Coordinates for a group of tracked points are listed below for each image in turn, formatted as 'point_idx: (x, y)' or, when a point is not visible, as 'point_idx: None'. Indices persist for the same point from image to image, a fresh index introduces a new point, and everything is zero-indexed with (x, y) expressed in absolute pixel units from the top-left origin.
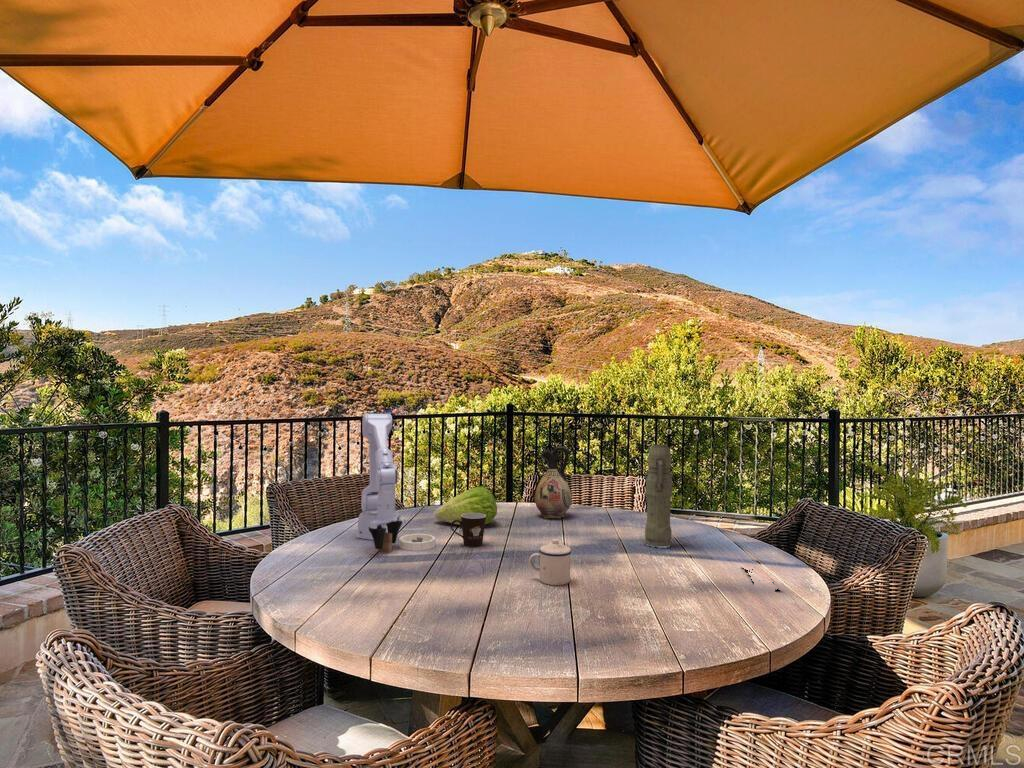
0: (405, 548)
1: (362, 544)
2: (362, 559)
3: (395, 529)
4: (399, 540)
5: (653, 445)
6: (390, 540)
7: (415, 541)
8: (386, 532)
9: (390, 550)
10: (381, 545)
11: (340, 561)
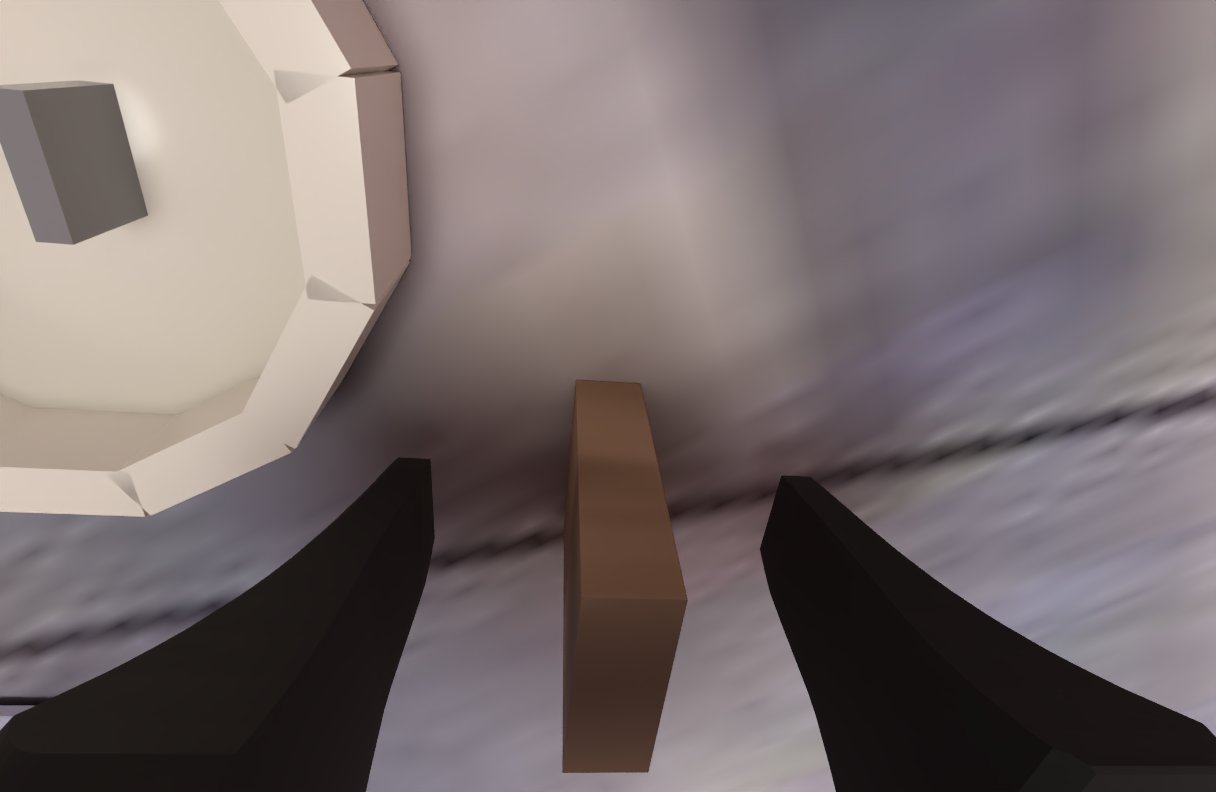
0: (401, 228)
1: (460, 749)
2: (998, 518)
3: (335, 660)
4: (301, 439)
5: None
6: (635, 493)
7: (65, 140)
8: (574, 701)
9: (615, 393)
10: (845, 507)
11: (1072, 645)
